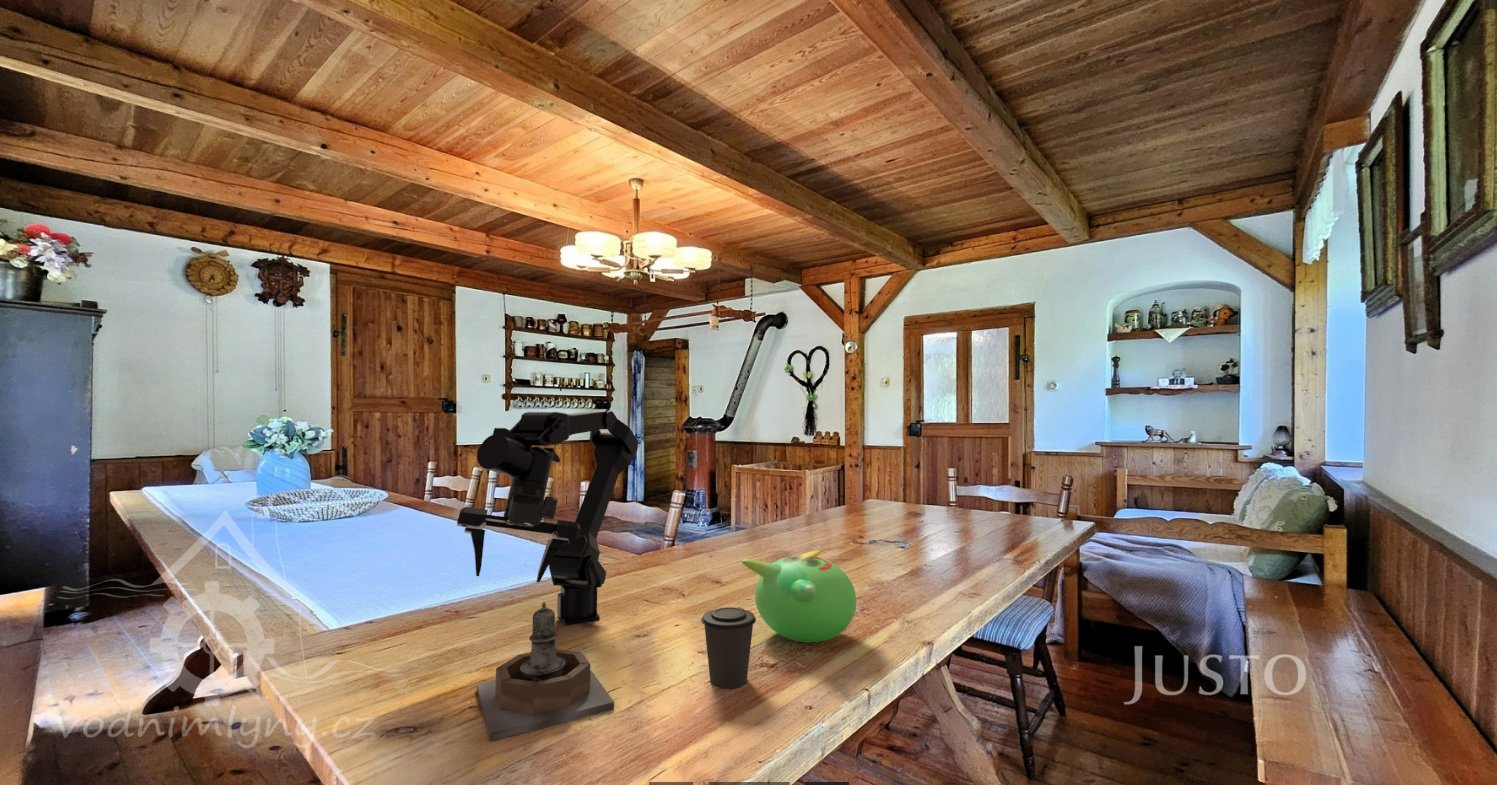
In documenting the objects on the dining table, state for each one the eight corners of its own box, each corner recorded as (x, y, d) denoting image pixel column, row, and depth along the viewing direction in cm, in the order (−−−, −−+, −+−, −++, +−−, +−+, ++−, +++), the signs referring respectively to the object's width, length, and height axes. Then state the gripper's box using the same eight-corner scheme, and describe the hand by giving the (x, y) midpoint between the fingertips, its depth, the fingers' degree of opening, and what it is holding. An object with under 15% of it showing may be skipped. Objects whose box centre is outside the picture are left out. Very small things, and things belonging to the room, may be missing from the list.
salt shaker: (566, 697, 78) (567, 606, 79) (518, 704, 77) (520, 611, 77) (564, 679, 84) (565, 593, 84) (520, 685, 82) (521, 598, 83)
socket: (584, 667, 90) (584, 637, 90) (614, 709, 77) (614, 674, 78) (476, 690, 83) (477, 657, 83) (490, 741, 70) (491, 702, 70)
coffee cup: (763, 673, 88) (763, 605, 89) (745, 697, 81) (745, 623, 81) (713, 665, 91) (713, 600, 91) (691, 688, 83) (691, 616, 84)
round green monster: (873, 638, 102) (873, 553, 103) (815, 668, 90) (815, 571, 91) (792, 614, 115) (792, 538, 115) (731, 638, 102) (732, 552, 103)
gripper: (470, 466, 89) (443, 573, 84) (593, 486, 96) (575, 586, 91) (469, 476, 99) (445, 572, 94) (581, 493, 106) (564, 584, 101)
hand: (508, 579), depth 95 cm, fingers open, 9 cm apart
